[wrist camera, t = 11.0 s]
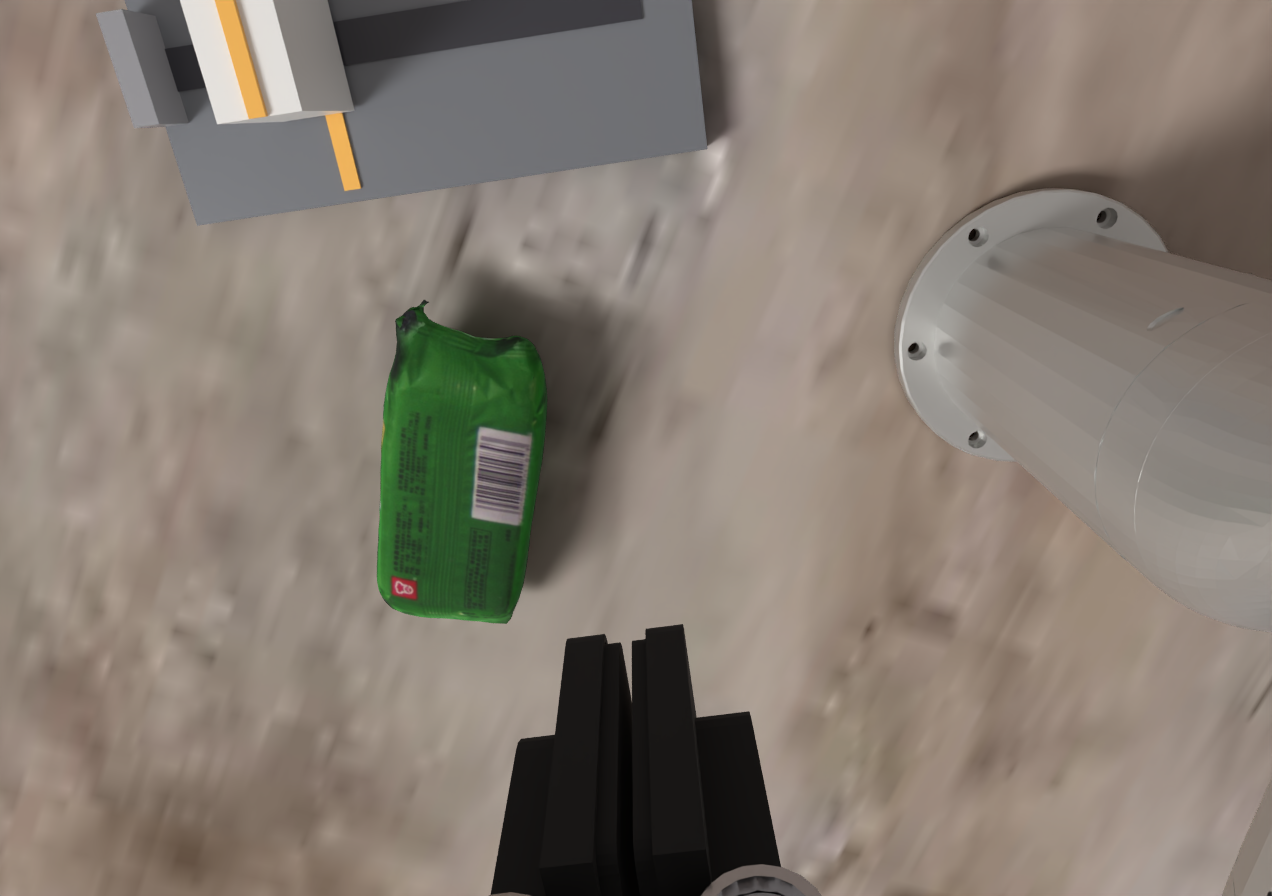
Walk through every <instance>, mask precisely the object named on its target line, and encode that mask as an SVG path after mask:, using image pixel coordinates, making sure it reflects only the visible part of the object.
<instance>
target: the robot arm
mask: <svg viewBox="0 0 1272 896" xmlns="http://www.w3.org/2000/svg"><path fill="white" fill-rule="evenodd" d="M1100 212H1101V214H1102V216H1101V218H1100V219H1099V220H1098V221H1097V217H1098V214H1099V213H1100ZM972 229H975V230H976V235H975V237H974V238H973V239H971V240H969V239H968V236H969V233H970V232H971V230H972ZM912 343H916V348H915V349H914V350H912V351H908V347H909V346H910V345H911V344H912ZM894 357H895V362H896V368H897V373H898V378H899V381H900V383H901V385H902V388H903V390H904V393H905V395H906V397H907V400H908V401H909V403H910V404H911V406H912V407H913V408H914V410H915V411H916V413H917V414H918V416H919V417H920V418H921V419H922V420H923V421H924V422H925V423H926V424H927V425H928V426H929V427H930V429H931V430H932V431H933V432H934V433H936V434H937V435H938V436H940V437H941V438H942V439H944V440H945V441H946V442H948V443H949V444H951V445H952V446H954V447H956V448H958V449H960V450H962V451H964V452H966V453H968V454H971V455H974V456H978V457H982V458H986V459H991V460H995V461H1009V462H1018V463H1019V464H1020V465H1021V466H1022V467H1023V468H1025V469H1026V470H1027V471H1028V472H1029V473H1030V474H1031V475H1032V476H1033V477H1034V478H1036V479H1037V480H1038V481H1039V482H1040V483H1041V484H1042V485H1043V486H1044V487H1045V488H1047V489H1048V490H1049V491H1050V492H1051V493H1052V494H1053V495H1054V496H1055V497H1057V498H1058V499H1059V500H1060V501H1061V502H1062V503H1063V504H1064V505H1065V506H1066V507H1068V508H1069V509H1070V510H1071V511H1072V512H1073V513H1074V514H1075V515H1076V516H1077V517H1079V518H1080V519H1081V520H1082V521H1083V522H1084V523H1085V524H1086V525H1087V526H1088V527H1090V528H1091V529H1092V530H1093V531H1094V532H1095V533H1096V534H1097V535H1098V536H1099V537H1101V538H1102V539H1103V540H1104V541H1105V542H1106V543H1107V544H1108V545H1109V546H1110V547H1112V548H1113V549H1114V550H1115V551H1116V552H1117V553H1118V554H1119V555H1120V556H1121V557H1123V558H1124V559H1125V560H1126V561H1128V562H1129V563H1130V564H1131V565H1132V566H1133V567H1134V568H1136V569H1137V570H1138V571H1139V572H1140V573H1141V574H1142V575H1143V576H1144V577H1146V578H1147V579H1148V580H1149V581H1150V582H1151V583H1152V584H1153V585H1155V586H1156V587H1157V588H1159V589H1160V590H1161V591H1163V592H1164V593H1165V594H1167V595H1168V596H1170V597H1171V598H1172V599H1174V600H1175V601H1177V602H1179V603H1180V604H1182V605H1184V606H1185V607H1187V608H1189V609H1191V610H1193V611H1195V612H1197V613H1199V614H1201V615H1203V616H1206V617H1209V618H1211V619H1214V620H1217V621H1220V622H1223V623H1226V624H1229V625H1233V626H1236V627H1240V628H1245V629H1250V630H1256V631H1265V632H1272V280H1268V279H1265V278H1261V277H1257V276H1255V275H1253V274H1252V273H1249V274H1246V273H1242V272H1238V271H1235V270H1231V269H1227V268H1223V267H1220V266H1216V265H1212V264H1208V263H1205V262H1201V261H1197V260H1193V259H1190V258H1186V257H1182V256H1178V255H1175V254H1171V253H1169V252H1168V250H1167V248H1166V246H1165V244H1164V243H1163V241H1162V239H1161V237H1160V236H1159V234H1158V233H1157V232H1156V231H1155V230H1154V229H1153V228H1152V227H1151V226H1150V224H1149V223H1148V222H1147V221H1146V220H1145V219H1144V218H1143V217H1142V216H1140V215H1139V214H1137V213H1136V212H1134V211H1133V210H1132V209H1130V208H1129V207H1127V206H1126V205H1124V204H1123V203H1121V202H1118V201H1115V200H1113V199H1110V198H1108V197H1105V196H1103V195H1100V194H1097V193H1092V192H1087V191H1082V190H1077V189H1062V188H1044V189H1037V190H1030V191H1023V192H1019V193H1016V194H1013V195H1010V196H1007V197H1004V198H1001V199H998V200H995V201H993V202H991V203H989V204H987V205H985V206H984V207H982V208H980V209H978V210H976V211H974V212H973V213H971V214H969V215H967V216H966V217H965V218H964V219H962V220H961V221H960V222H959V223H957V224H956V225H955V226H953V227H952V228H951V229H950V230H948V231H947V232H946V233H945V234H944V235H943V236H942V237H941V238H940V239H939V240H938V242H937V243H936V244H935V245H934V246H933V247H932V248H931V249H930V250H929V252H928V253H927V254H926V255H925V256H924V258H923V260H922V261H921V263H920V264H919V266H918V267H917V269H916V271H915V272H914V274H913V275H912V277H911V279H910V281H909V283H908V286H907V288H906V291H905V293H904V295H903V298H902V300H901V303H900V306H899V311H898V316H897V320H896V325H895V332H894ZM974 432H975V434H974V436H973V437H970V438H969V436H970V435H971V434H972V433H974ZM489 896H821V894H820V893H819V891H818V890H817V888H816V887H814V886H813V885H812V884H811V883H810V882H808V881H807V880H806V879H805V878H804V877H802V876H801V875H799V874H797V873H794V872H792V871H790V870H788V869H785V868H783V867H781V864H780V859H779V855H778V850H777V845H776V840H775V835H774V830H773V825H772V820H771V815H770V810H769V805H768V800H767V795H766V790H765V785H764V780H763V775H762V770H761V765H760V760H759V755H758V750H757V745H756V740H755V735H754V730H753V725H752V720H751V716H750V712H741V713H732V714H724V715H716V716H707V717H699V718H696V711H695V704H694V697H693V690H692V683H691V676H690V669H689V662H688V655H687V648H686V641H685V634H684V627H683V624H681V625H673V626H665V627H657V628H649V629H646V639H644V640H636V641H632V700H631V695H630V689H629V683H628V678H627V672H626V666H625V660H624V655H623V649H622V645H621V643H612V644H608V642H607V638H606V636H605V634H601V635H593V636H585V637H578V638H570V639H567V641H566V646H565V655H564V663H563V672H562V680H561V689H560V697H559V706H558V714H557V723H556V731H555V735H549V736H541V737H533V738H525V739H521V740H520V741H519V742H518V745H517V749H516V754H515V759H514V765H513V771H512V776H511V782H510V788H509V794H508V799H507V805H506V811H505V816H504V822H503V828H502V833H501V839H500V845H499V850H498V856H497V862H496V867H495V873H494V879H493V884H492V890H491V895H489ZM1222 896H1272V778H1271V780H1270V783H1269V785H1268V787H1267V789H1266V792H1265V794H1264V796H1263V798H1262V801H1261V803H1260V805H1259V807H1258V810H1257V812H1256V814H1255V816H1254V819H1253V821H1252V823H1251V825H1250V828H1249V830H1248V832H1247V834H1246V837H1245V839H1244V841H1243V843H1242V846H1241V848H1240V851H1239V854H1238V857H1237V859H1236V861H1235V864H1234V866H1233V868H1232V871H1231V873H1230V876H1229V878H1228V880H1227V883H1226V886H1225V888H1224V891H1223V894H1222Z"/></svg>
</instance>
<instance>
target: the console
mask: <svg viewBox="0 0 1272 896" xmlns="http://www.w3.org/2000/svg"><path fill="white" fill-rule="evenodd" d="M125 3H126V6H127V9H128V10H123V9H121V10H114V11H108V12H102V13H96V16H97V19H98V22H99V24H100V27H101V30H102V33H103V36H104V39H105V42H106V45H107V48H108V51H109V54H110V57H111V60H112V63H113V66H114V69H115V72H116V75H117V78H118V81H119V84H120V87H121V90H122V93H123V96H124V99H125V102H126V105H127V108H128V111H129V114H130V117H131V120H132V123H133V126H134V128H151V127H166V130H167V133H168V136H169V139H170V142H171V146H172V149H173V152H174V155H175V158H176V161H177V164H178V167H179V170H180V173H181V177H182V180H183V183H184V186H185V189H186V192H187V195H188V198H189V201H190V204H191V208H192V211H193V214H194V217H195V220H196V223H197V226H198V225H204V224H211V223H218V222H224V221H231V220H238V219H244V218H251V217H258V216H264V215H271V214H278V213H284V212H291V211H298V210H304V209H311V208H318V207H324V206H331V205H338V204H344V203H351V202H358V201H364V200H371V199H378V198H384V197H391V196H398V195H404V194H411V193H418V192H424V191H431V190H437V189H444V188H451V187H457V186H464V185H471V184H477V183H484V182H491V181H497V180H504V179H511V178H517V177H524V176H531V175H537V174H544V173H551V172H557V171H564V170H571V169H577V168H584V167H591V166H597V165H604V164H611V163H617V162H624V161H631V160H637V159H644V158H651V157H657V156H664V155H671V154H677V153H684V152H691V151H697V150H704V149H707V141H706V132H705V122H704V113H703V103H702V94H701V84H700V75H699V65H698V56H697V47H696V37H695V28H694V18H693V9H692V0H328V4H329V8H330V12H331V17H332V21H333V25H334V29H335V33H336V37H337V41H338V45H339V49H340V53H341V57H342V61H343V66H344V70H345V74H346V78H347V82H348V86H349V90H350V94H351V98H352V102H353V106H354V110H355V111H350V112H343V113H337V114H330V115H324V116H317V117H311V118H304V119H298V120H291V121H285V122H265V123H238V124H217V122H216V119H215V115H214V112H213V109H212V105H211V102H210V99H209V95H208V92H207V89H206V86H205V82H204V79H203V76H202V72H201V69H200V66H199V62H198V59H197V56H196V52H195V49H194V46H193V42H192V39H191V36H190V32H189V29H188V26H187V22H186V19H185V16H184V13H183V9H182V6H181V3H180V0H125Z"/></svg>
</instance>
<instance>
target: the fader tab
mask: <svg viewBox="0 0 1272 896" xmlns="http://www.w3.org/2000/svg"><path fill="white" fill-rule="evenodd" d="M180 3H181V6H182V9H183V13H184V16H185V19H186V22H187V26H188V29H189V32H190V36H191V39H192V42H193V46H194V49H195V52H196V56H197V59H198V62H199V66H200V69H201V72H202V76H203V79H204V82H205V86H206V89H207V92H208V95H209V99H210V102H211V105H212V109H213V112H214V115H215V119H216V122H217V124H238V123H265V122H285V121H291V120H298V119H304V118H311V117H317V116H324V115H330V114H337V113H343V112H350V111H355V110H354V106H353V102H352V98H351V94H350V90H349V86H348V82H347V78H346V74H345V70H344V66H343V61H342V57H341V53H340V49H339V45H338V41H337V37H336V33H335V29H334V25H333V21H332V17H331V12H330V8H329V4H328V0H180Z"/></svg>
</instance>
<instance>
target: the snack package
mask: <svg viewBox="0 0 1272 896" xmlns="http://www.w3.org/2000/svg"><path fill="white" fill-rule="evenodd" d="M427 303H429V302H427V301H425V300H424V301H423V302H422V303H421V304H420V305H419V306H418V307H412V308H410V309H409V310H407V311H406V312H405V313H404V314H403V315H402V316H401V317H399V318H397V319H396V321H395V322H396V336H397V348H396V355H395V359H394V362H393V366H392V369H391V372H390V375H389V379H388V383H387V388H386V394H385V401H384V411H383V430H382V441H381V496H380V508H379V509H380V522H379V535H378V552H377V582H378V587H379V591H380V593H381V595H382V597H383V599H384V601H385V602H386V603H387V604H388V605H389V606H390V607H391V608H393V609H395V610H397V611H400V612H402V613H405V614H409V615H414V616H419V617H427V618H447V619H459V620H468V621H482V622H489V623H505V624H507V623H508V621H509V620H510V619H511V617H512V614H513V611H514V609H515V607H516V604H517V602H518V599H519V597H520V594H521V590H522V587H523V583H524V578H525V572H526V567H527V560H528V551H529V542H530V533H531V525H532V519H533V513H534V507H535V501H536V495H537V489H538V483H539V476H540V470H541V465H542V459H543V449H544V440H545V429H546V416H547V388H546V380H545V374H544V370H543V366H542V362H541V358H540V356H539V354H538V352H537V350H536V348H535V346H534V345H533V344H532V343H531V342H530V341H529V340H528V339H526V338H523V337H520V336H511V337H506V338H496V339H493V338H480V337H474V336H471V335H469V334H466V333H464V332H461V331H458V330H454V329H451V328H448V327H444V326H442V325H439V324H437V323H435V322H433V321H431V320H430V319H428V317H427V316H426V315H425V313H424V306H425V305H426V304H427Z"/></svg>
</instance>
